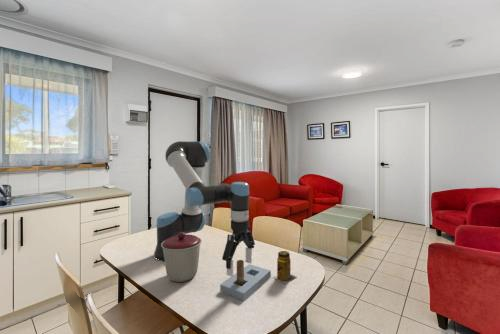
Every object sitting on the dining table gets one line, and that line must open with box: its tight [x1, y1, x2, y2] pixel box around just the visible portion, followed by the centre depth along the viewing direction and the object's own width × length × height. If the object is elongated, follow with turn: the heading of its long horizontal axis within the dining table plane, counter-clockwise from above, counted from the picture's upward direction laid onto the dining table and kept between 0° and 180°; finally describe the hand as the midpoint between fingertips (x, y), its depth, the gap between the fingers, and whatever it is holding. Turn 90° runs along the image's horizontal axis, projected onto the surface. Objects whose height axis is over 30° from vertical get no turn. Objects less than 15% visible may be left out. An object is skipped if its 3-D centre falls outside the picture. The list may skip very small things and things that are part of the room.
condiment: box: [273, 250, 297, 285], centre depth 113 cm, size 7×8×12 cm
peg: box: [236, 259, 245, 286], centre depth 104 cm, size 3×3×12 cm
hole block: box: [219, 263, 272, 302], centre depth 108 cm, size 12×22×3 cm, turn 147°
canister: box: [161, 232, 202, 283], centre depth 114 cm, size 18×18×21 cm
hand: (239, 268), depth 104 cm, fingers open, 13 cm apart
